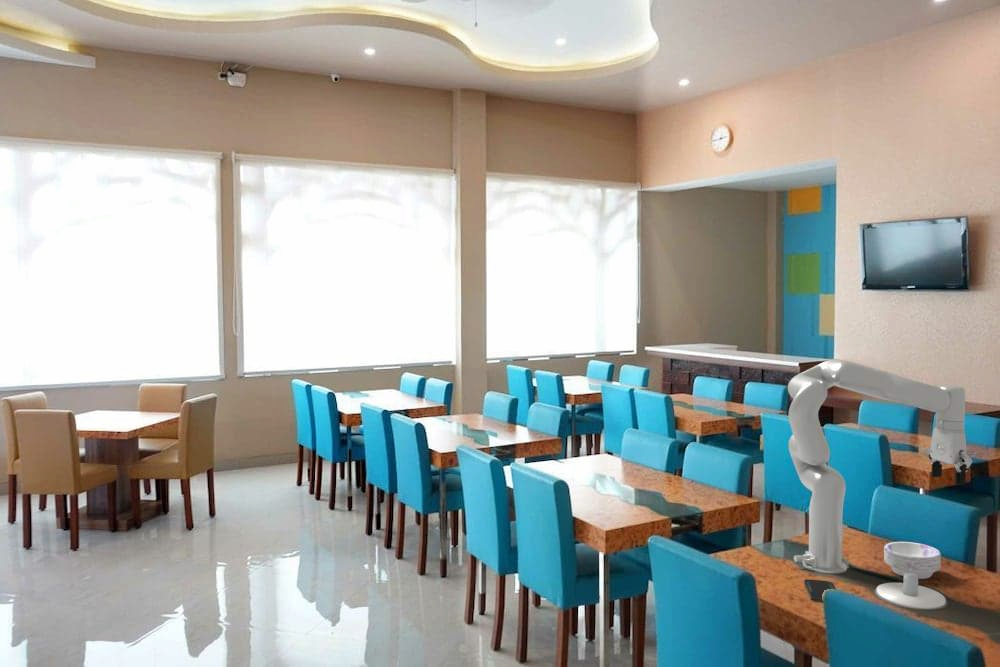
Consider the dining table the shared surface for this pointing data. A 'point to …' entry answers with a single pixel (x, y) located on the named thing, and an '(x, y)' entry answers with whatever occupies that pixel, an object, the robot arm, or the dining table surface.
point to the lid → (911, 594)
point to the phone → (817, 588)
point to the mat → (911, 608)
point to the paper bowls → (912, 558)
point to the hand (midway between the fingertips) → (948, 480)
